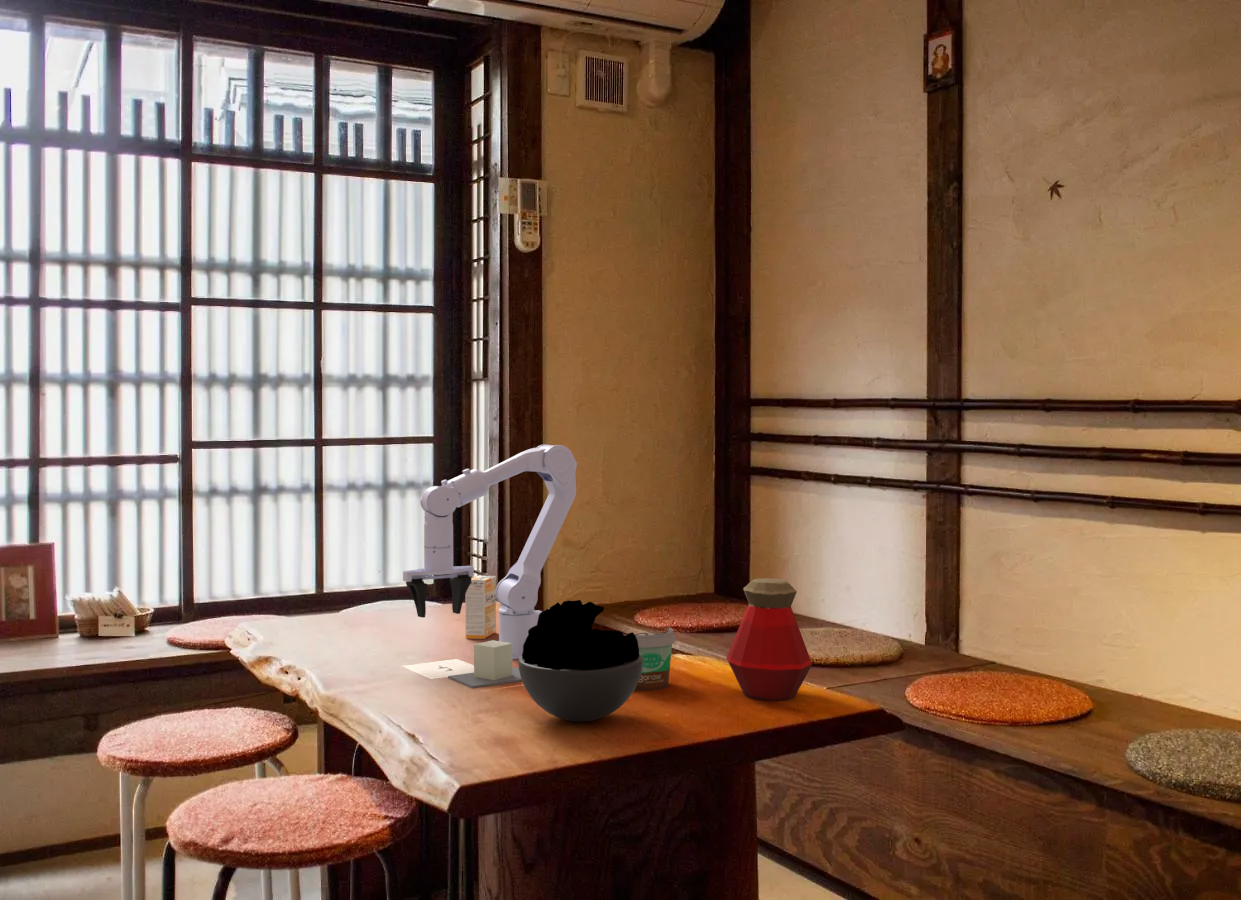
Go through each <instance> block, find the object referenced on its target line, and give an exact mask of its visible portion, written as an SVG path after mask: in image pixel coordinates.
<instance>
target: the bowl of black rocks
mask: <svg viewBox="0 0 1241 900" xmlns="http://www.w3.org/2000/svg"><path fill="white" fill-rule="evenodd" d="M604 610H605V607H604V606H601V605H596V604H595V602H592V601H588V602H586V603H584V604H583V602H582V600H580V599H576V600H564V601H563V602H562V603H561V604H560V602H557V603H555V604H553V605H551V606H550V607H549V609H548V608H546V609H544V611H542V612H541V613H540V614H539V617H538V622H537V625H536V626H534V627H532V628H530V629H529V630H528V634H529V635H528V636H527V638H526V640H525V642H524V645H523V653H522V656H520V657H519V659H517V664H518V665H517V666H518V668H519V672H520V676H521V679H522V681H521V682H522V684H523V686H524V688H525V691H526V692H527V693H528V695H529V696H530V698H531V699H532V700H533V701H534V703H536V704H537V705H538V706H539V707H540V708H541V709H542V710H544V711H545V712H547V713H548V714H550V715H551V716H554V717H556V718H559V719H561V720H564V721H569V722H578V723H580V722H581V723H583V722H591V721H596V720H599V719H602V718H605V717H607V716H610V715H611V714H613V713H614V712H616V711H617V710H619V709H620V708H621V707H622V706H623V705H624V704H626V702H627V701H628V700H629V698H630V697H631V696H632V695H633V694H634V692H635V688H636V686H637V684H638V681H639V678H640V676H641V672H642V667H643V657H642V656H641V655H640V654H639V646H638V640H637V638H636V636H635V633H634V632H633V631H632V632H629V633H628V634H625V635H623V634H624V633H623V632H622V631H620V630H610V629H605V630H603V629H600V628H593V627H592V626H593V624H594V623H595V620H596V618H597V617H598V616H599V615H600V614H601V613H603V612H604Z"/></svg>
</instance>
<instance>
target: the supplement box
mask: <svg viewBox="0 0 1241 900" xmlns="http://www.w3.org/2000/svg"><path fill="white" fill-rule="evenodd" d="M470 578H471V584H470V586H469V588H468V589H467V592H466V594H465V597H464V598H465V639H471V640H472V639H475V640H477V639H478V640H480V639H481V640H485V639H486V638H488V637H490V636H491V635H493V634H496V632H497V601H496V600H497V598H496V587H497V576H496V575H476V576H472V577H470Z"/></svg>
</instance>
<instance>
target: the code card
mask: <svg viewBox="0 0 1241 900" xmlns="http://www.w3.org/2000/svg"><path fill="white" fill-rule="evenodd" d="M401 667H402V668H404V669H407V670H409V671H411V672H413V673H416V674H418V675H420V676H422V677H425V678H427V679H430V680H435V679H443V678H448V676H452V675H459V674H467V673H474V664H471V663H469V662H466V661H463V660H460V659H459V658H454V659H446V660H438V661H429V662H422V663H416V664H409V665H408V664H407V665H406V664H405V665H401Z"/></svg>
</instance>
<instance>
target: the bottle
mask: <svg viewBox="0 0 1241 900" xmlns="http://www.w3.org/2000/svg"><path fill="white" fill-rule="evenodd" d="M742 590H743V592H744V595H745V597H746V599H747V603H748V606H747V607H746V611H745V612H744V615H743V618H742V619H741V622H740V624H739V627H738V629H737V631H736V634H735V636H734V639H733V641H732V643H731V646H730V648H729V650H728V653H727V655H726V660H727V663H728V664H729V666H730V668H731V670H732V673H733V674H734V677H735V679H736V680H737V683H738V684H739V687H740V689H741V691H742V694H744V696H745V697H748V698H750V699H753V700H754V699H755V700H760V701H768V702H769V701H770V702H779V701H789V700H792V699H793V698H795V697H796V696H797V693H798V692H799V690H800V688H801V686H802V684H803V683H804V681H805V679H806V677H807V675H808V673H809V671H810V669H811V668H812V665H813V662H812V660H811V657H810V654H809V652H808V649H807V647H806V644H805V643H806V642H805V641H804V638H803V636H802V632H801V630H800V628H799V624H798V621H797V619H796V616H795V614H794V611H793V607H792V604H793V602H794V600H795V597H796V596H797V592H798V590H796V589H795V588H794V587H793V586H792V585H791V584H790V583H789V582H788V581H787V580H786V579H782V578H772V577H771V578H767V577H764V578H755V579H752V580H751V581H750V582H749V583H747V585H746V586H743V588H742Z"/></svg>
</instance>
